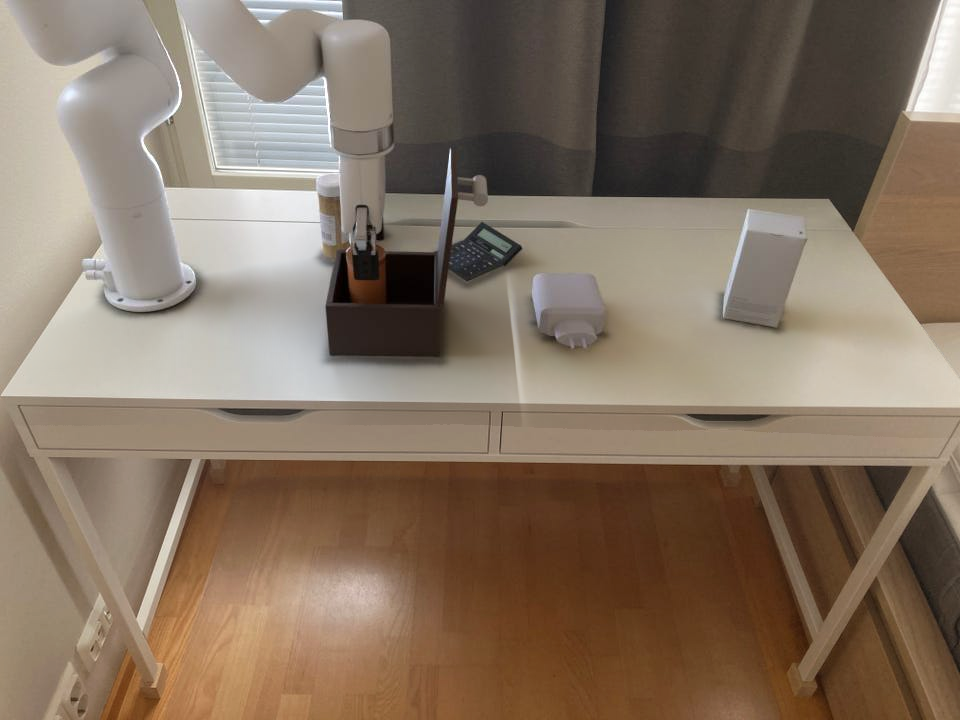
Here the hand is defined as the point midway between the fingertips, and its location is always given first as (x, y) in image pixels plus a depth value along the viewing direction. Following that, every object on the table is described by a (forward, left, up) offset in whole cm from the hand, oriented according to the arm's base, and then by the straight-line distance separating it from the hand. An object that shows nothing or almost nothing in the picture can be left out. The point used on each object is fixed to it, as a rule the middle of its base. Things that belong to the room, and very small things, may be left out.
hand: (369, 258), depth 105 cm
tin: (0, 0, -11) cm, 11 cm away
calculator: (+15, +19, -12) cm, 27 cm away
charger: (+28, +1, -12) cm, 31 cm away
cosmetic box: (+56, +6, -12) cm, 58 cm away
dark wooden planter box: (+2, 0, -12) cm, 12 cm away
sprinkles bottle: (-7, +19, -12) cm, 24 cm away
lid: (+10, 0, +5) cm, 11 cm away
